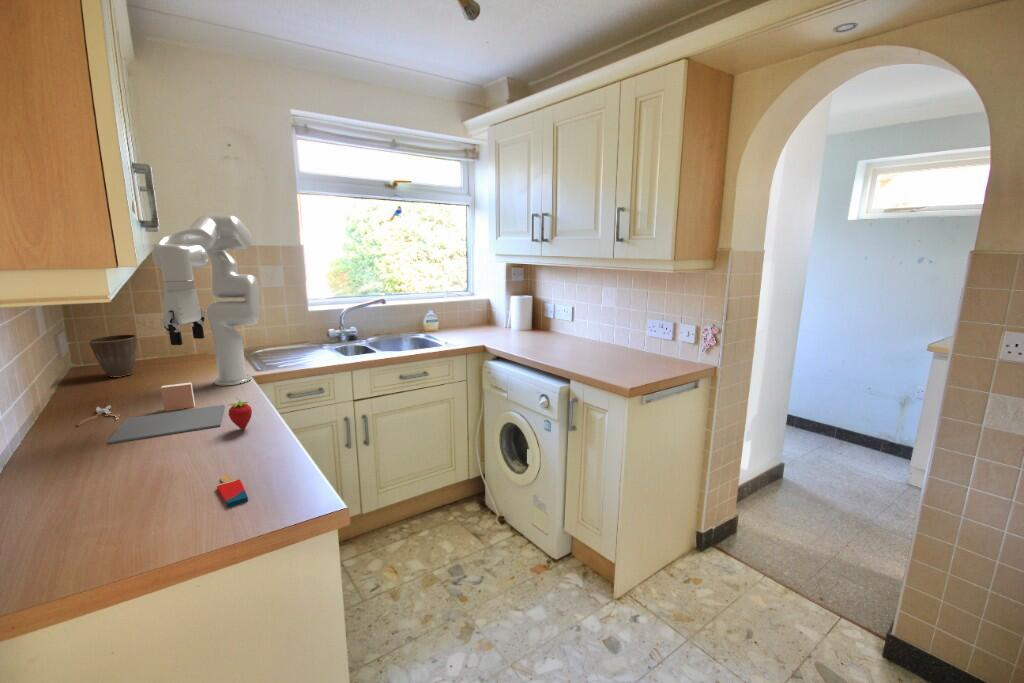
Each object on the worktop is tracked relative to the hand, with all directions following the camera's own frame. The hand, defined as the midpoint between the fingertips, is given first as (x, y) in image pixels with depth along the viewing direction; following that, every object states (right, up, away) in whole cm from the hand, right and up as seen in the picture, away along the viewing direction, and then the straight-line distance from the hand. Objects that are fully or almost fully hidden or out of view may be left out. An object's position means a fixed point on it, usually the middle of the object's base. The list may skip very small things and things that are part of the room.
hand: (188, 341), depth 144 cm
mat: (-2, -25, -4) cm, 25 cm away
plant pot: (-61, -14, +47) cm, 79 cm away
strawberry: (+22, -26, -9) cm, 35 cm away
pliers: (-29, -24, +2) cm, 38 cm away
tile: (-9, -22, +9) cm, 26 cm away
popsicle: (+39, -33, -42) cm, 67 cm away
